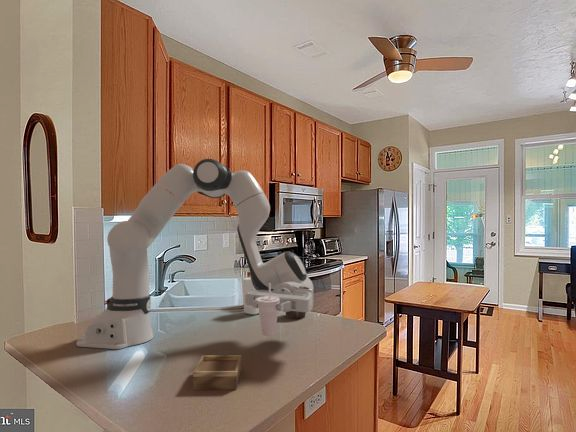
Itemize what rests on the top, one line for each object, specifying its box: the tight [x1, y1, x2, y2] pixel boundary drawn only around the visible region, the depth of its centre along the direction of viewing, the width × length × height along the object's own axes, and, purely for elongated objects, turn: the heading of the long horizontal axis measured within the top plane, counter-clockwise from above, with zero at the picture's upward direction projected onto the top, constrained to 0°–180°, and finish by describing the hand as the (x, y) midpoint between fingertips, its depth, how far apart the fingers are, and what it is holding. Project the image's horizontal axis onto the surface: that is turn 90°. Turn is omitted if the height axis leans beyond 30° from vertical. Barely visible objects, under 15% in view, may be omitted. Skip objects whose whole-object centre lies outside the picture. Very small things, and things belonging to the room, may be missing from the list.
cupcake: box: [285, 311, 307, 320], centre depth 141 cm, size 10×10×10 cm
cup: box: [242, 277, 259, 316], centre depth 146 cm, size 7×7×15 cm
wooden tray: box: [192, 354, 242, 391], centre depth 84 cm, size 10×10×4 cm
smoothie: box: [257, 283, 280, 337], centre depth 94 cm, size 6×6×14 cm
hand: (266, 306), depth 93 cm, fingers closed on smoothie, 6 cm apart
